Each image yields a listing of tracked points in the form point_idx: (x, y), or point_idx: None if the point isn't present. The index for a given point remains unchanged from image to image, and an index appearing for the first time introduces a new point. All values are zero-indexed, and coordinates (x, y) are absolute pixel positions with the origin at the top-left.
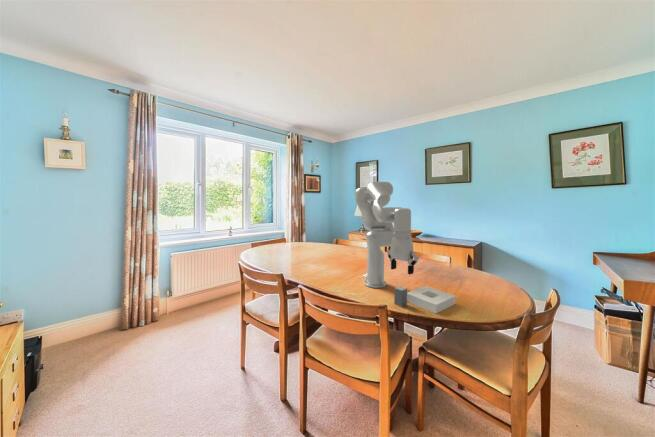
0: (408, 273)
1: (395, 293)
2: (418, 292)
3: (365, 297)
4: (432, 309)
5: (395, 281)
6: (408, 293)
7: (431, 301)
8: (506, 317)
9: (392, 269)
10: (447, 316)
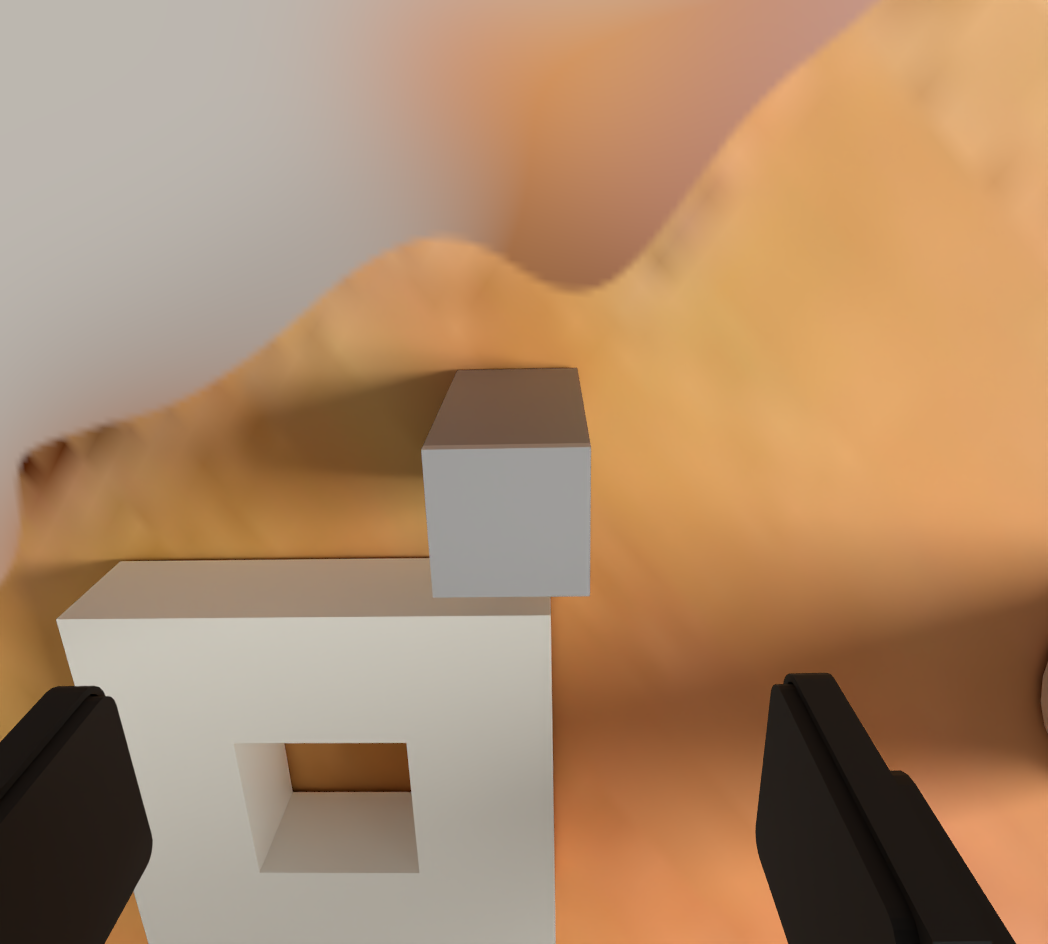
0: (61, 694)
1: (565, 414)
2: (459, 756)
3: (1038, 176)
4: (147, 576)
5: (1033, 912)
6: (516, 633)
7: (161, 656)
8: None
9: (781, 692)
10: (32, 607)
